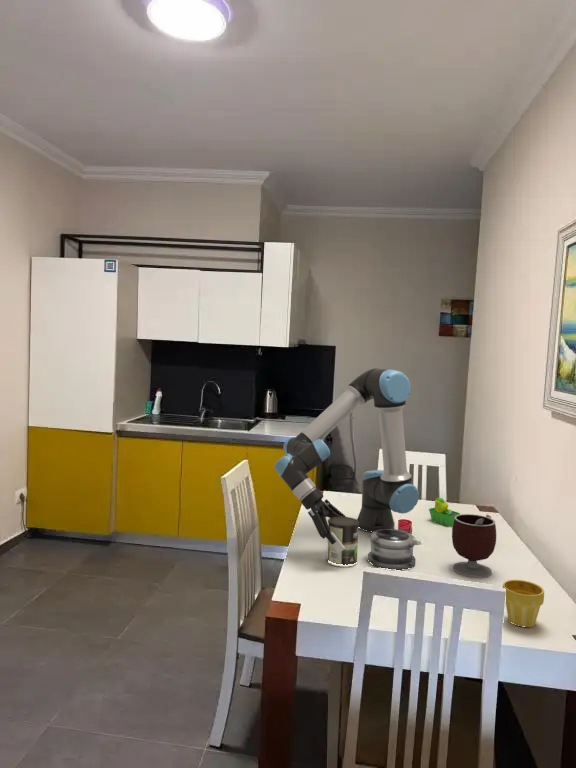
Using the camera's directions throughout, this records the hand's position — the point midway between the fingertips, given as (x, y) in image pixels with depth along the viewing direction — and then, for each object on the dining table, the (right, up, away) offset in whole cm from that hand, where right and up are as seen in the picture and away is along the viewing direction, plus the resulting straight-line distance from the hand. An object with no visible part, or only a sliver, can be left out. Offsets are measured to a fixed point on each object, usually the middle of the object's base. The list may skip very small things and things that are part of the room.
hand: (348, 544), depth 197 cm
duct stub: (+15, -7, +3) cm, 16 cm away
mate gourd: (+40, -8, -4) cm, 41 cm away
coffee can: (-2, -6, +1) cm, 7 cm away
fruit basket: (+45, -5, +49) cm, 67 cm away
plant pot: (+42, -10, -39) cm, 58 cm away
